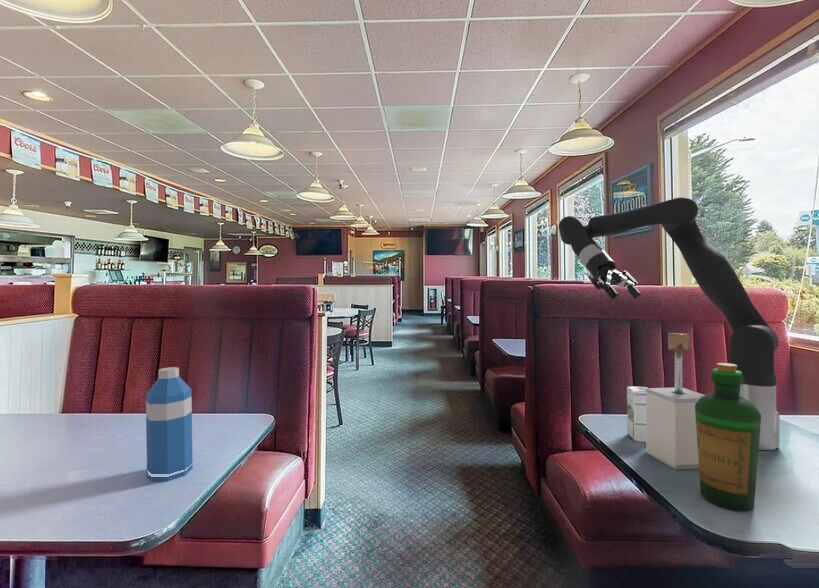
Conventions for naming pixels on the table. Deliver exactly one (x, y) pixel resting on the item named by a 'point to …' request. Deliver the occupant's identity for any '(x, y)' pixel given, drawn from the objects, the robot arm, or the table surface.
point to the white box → (672, 427)
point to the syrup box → (636, 413)
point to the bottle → (727, 441)
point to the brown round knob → (678, 355)
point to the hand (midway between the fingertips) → (627, 296)
